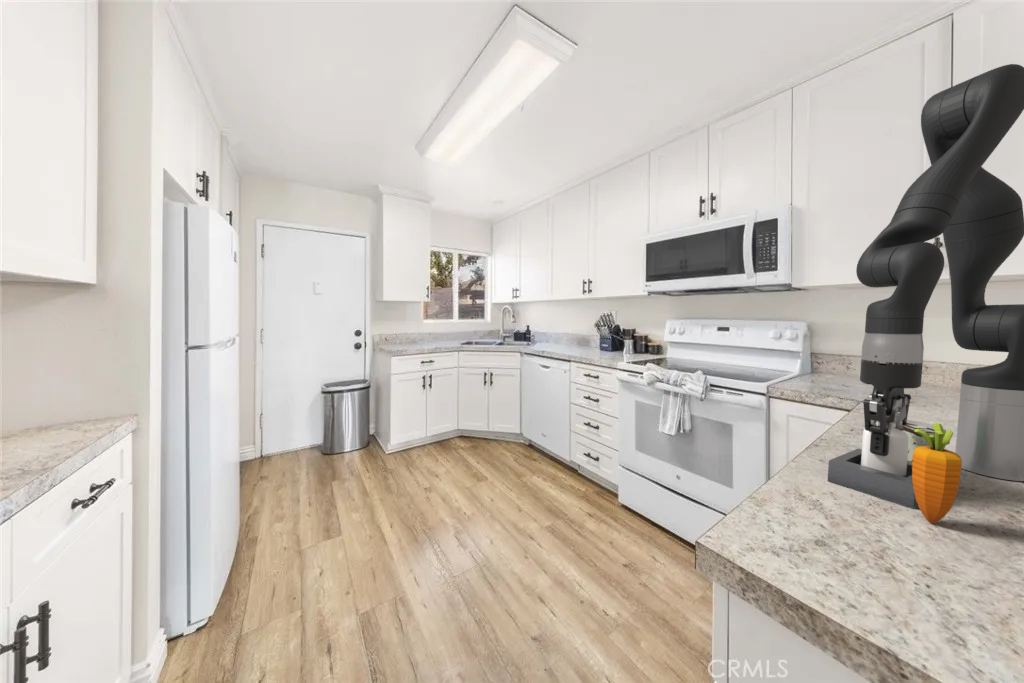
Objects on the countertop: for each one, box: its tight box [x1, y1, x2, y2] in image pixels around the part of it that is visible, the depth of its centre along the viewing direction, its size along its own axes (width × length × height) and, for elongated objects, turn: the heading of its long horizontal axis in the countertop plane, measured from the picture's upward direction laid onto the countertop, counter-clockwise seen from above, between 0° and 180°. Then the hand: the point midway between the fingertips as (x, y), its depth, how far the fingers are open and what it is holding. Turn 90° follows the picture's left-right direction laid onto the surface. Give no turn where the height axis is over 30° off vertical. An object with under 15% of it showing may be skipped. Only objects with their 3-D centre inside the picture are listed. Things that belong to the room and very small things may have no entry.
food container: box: [876, 419, 951, 462], centre depth 70 cm, size 12×6×10 cm, turn 179°
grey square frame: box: [827, 448, 919, 510], centre depth 65 cm, size 13×11×4 cm
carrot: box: [912, 422, 962, 525], centre depth 52 cm, size 5×5×15 cm
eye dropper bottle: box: [861, 416, 908, 476], centre depth 64 cm, size 4×6×12 cm
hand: (884, 451), depth 64 cm, fingers closed on eye dropper bottle, 4 cm apart
